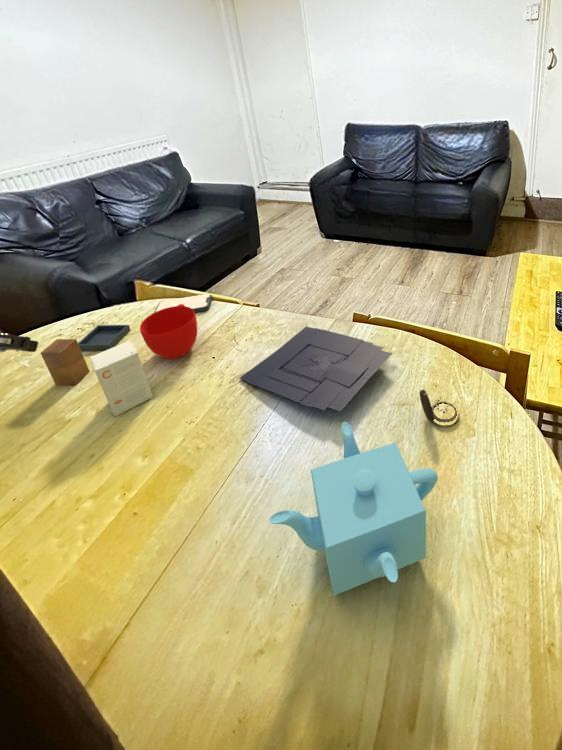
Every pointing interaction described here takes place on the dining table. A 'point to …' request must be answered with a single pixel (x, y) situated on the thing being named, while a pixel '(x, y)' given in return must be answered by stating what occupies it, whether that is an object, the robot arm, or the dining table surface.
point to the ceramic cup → (170, 331)
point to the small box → (121, 377)
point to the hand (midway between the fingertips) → (16, 346)
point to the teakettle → (365, 514)
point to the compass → (429, 410)
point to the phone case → (188, 302)
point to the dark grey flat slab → (318, 368)
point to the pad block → (65, 362)
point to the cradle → (103, 337)
